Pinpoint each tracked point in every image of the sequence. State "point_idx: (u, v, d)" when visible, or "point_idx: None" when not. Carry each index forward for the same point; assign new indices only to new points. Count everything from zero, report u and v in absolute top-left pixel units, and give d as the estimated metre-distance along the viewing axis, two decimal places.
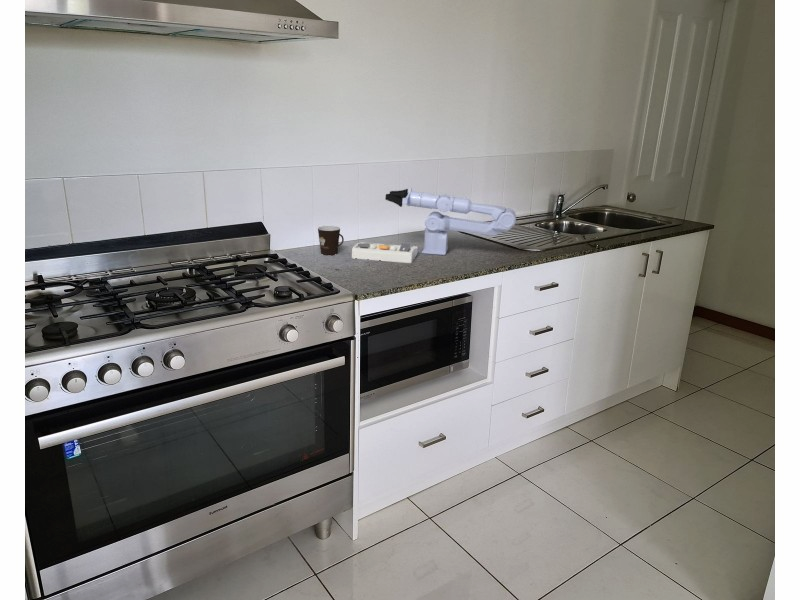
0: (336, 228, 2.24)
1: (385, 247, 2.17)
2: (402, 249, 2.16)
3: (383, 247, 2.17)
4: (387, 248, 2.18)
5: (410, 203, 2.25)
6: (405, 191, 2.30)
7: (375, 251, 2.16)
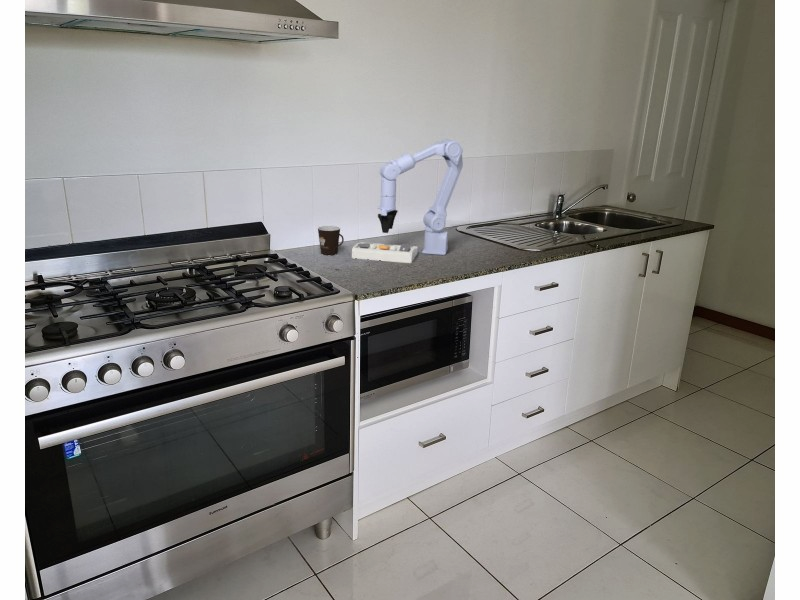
0: (336, 228, 2.24)
1: (385, 247, 2.17)
2: (402, 249, 2.16)
3: (383, 247, 2.17)
4: (387, 248, 2.18)
5: (390, 206, 2.17)
6: None
7: (375, 251, 2.16)
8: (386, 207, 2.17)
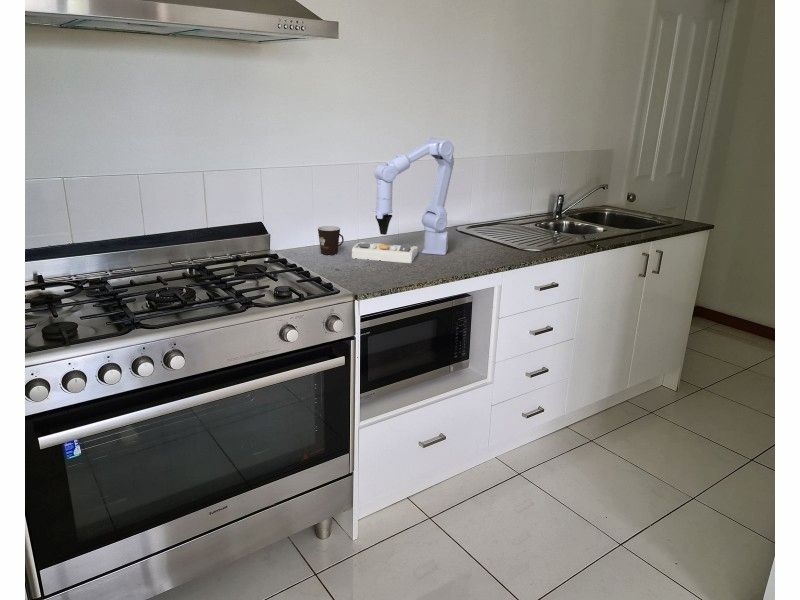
0: (336, 228, 2.24)
1: (385, 247, 2.17)
2: (402, 249, 2.16)
3: (383, 247, 2.17)
4: (387, 248, 2.18)
5: (386, 209, 2.11)
6: None
7: (375, 251, 2.16)
8: (382, 210, 2.11)
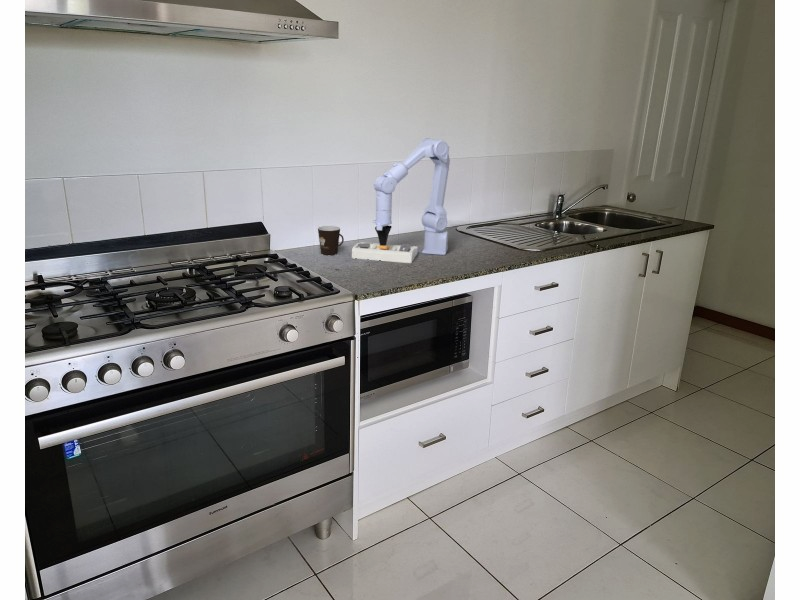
0: (336, 228, 2.24)
1: (385, 247, 2.17)
2: (402, 249, 2.16)
3: (383, 247, 2.17)
4: (387, 248, 2.18)
5: (386, 221, 2.12)
6: None
7: (375, 251, 2.16)
8: (381, 221, 2.12)
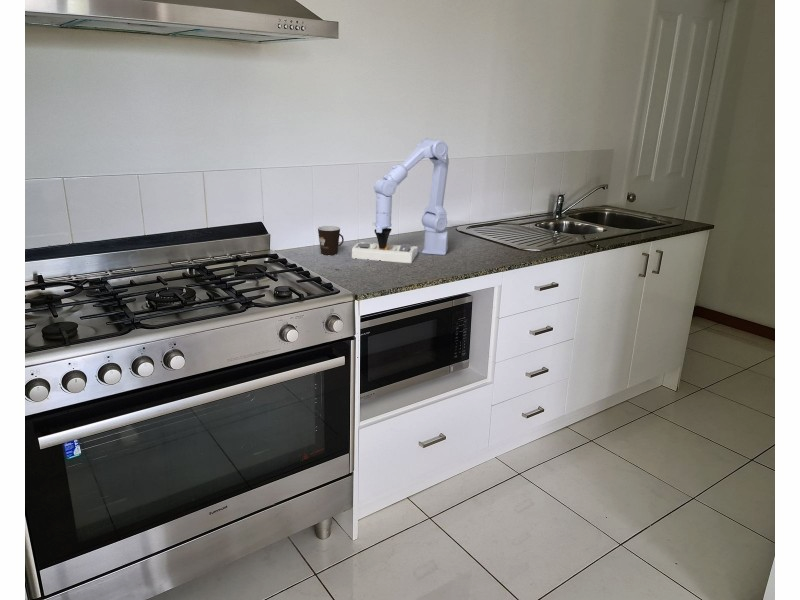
0: (336, 228, 2.24)
1: (385, 248, 2.17)
2: (402, 249, 2.16)
3: None
4: (387, 249, 2.19)
5: (386, 223, 2.12)
6: None
7: (375, 251, 2.16)
8: (381, 224, 2.12)
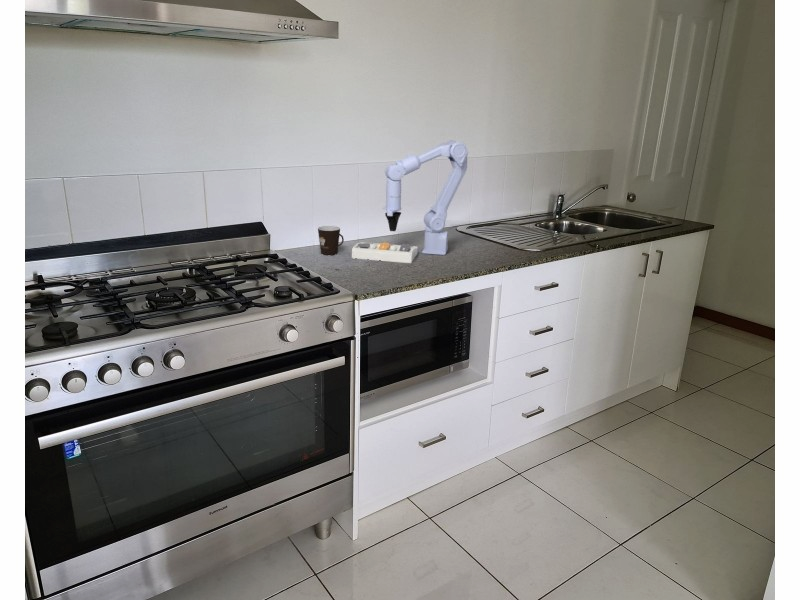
0: (336, 228, 2.24)
1: None
2: (402, 249, 2.16)
3: None
4: (387, 249, 2.19)
5: (396, 207, 2.19)
6: None
7: (375, 251, 2.16)
8: (391, 207, 2.19)
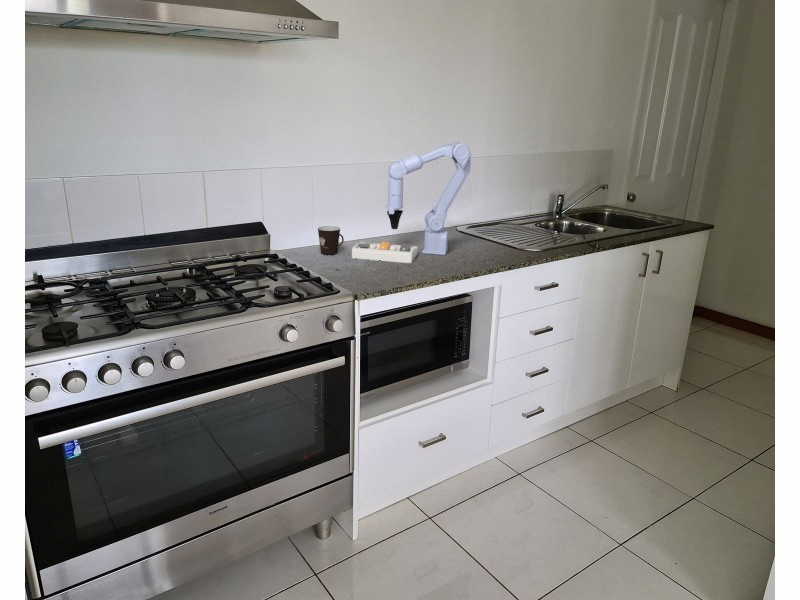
0: (336, 228, 2.24)
1: None
2: (402, 249, 2.16)
3: None
4: (387, 249, 2.19)
5: (397, 205, 2.21)
6: None
7: (375, 251, 2.16)
8: (393, 206, 2.21)
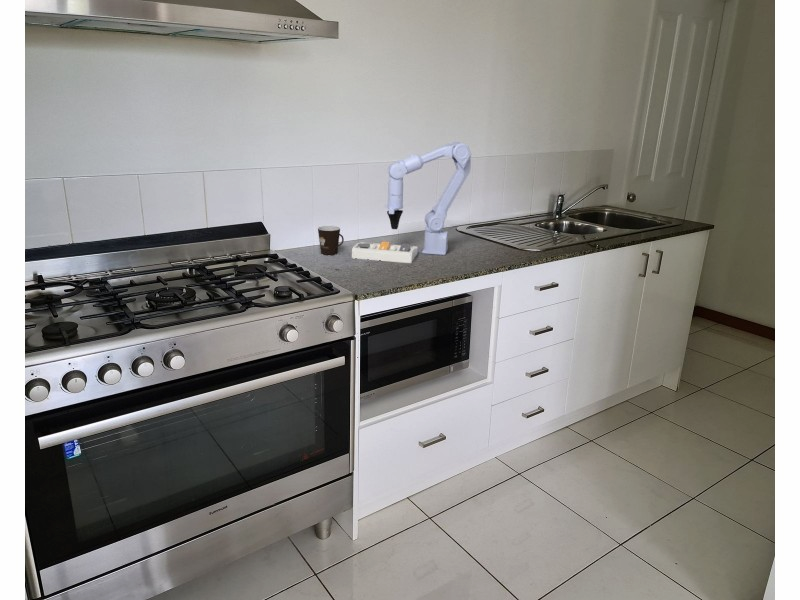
0: (336, 228, 2.24)
1: None
2: (402, 249, 2.16)
3: None
4: (387, 249, 2.19)
5: (397, 205, 2.21)
6: None
7: (375, 251, 2.16)
8: (393, 206, 2.21)
